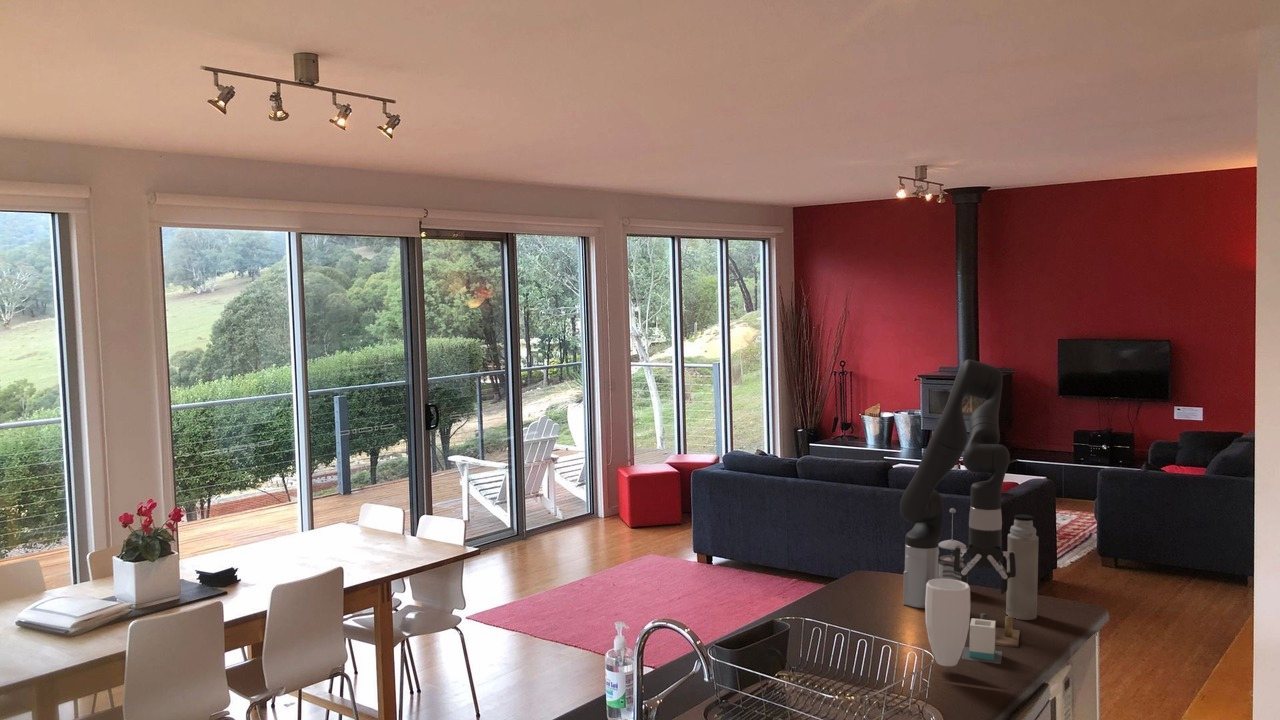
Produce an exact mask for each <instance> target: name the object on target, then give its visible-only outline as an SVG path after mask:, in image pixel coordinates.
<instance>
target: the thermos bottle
mask: <svg viewBox="0 0 1280 720" xmlns="http://www.w3.org/2000/svg"><path fill="white" fill-rule="evenodd" d="M1013 519H1014V520H1013V525H1011V526H1010V529H1009V532H1010V533H1008V534H1007V552H1010V551H1012V550H1013V551H1014V552H1015V563H1016V576H1015V577H1011V578H1008V588H1007V592H1005V594H1006V596H1005V600H1006V601H1005V603H1006V605H1005V614H1007V615H1008V616H1011V617H1013V619H1015V618H1016V620H1022V621H1023V620H1025V621H1029V620H1030V621H1031V620H1035V619H1037V617H1038V585H1039V584H1038V580H1039V579H1038V577H1039V543H1040V542H1039V535H1037V533H1038V532H1037V529H1036V527H1035V526H1034V522H1033V520H1034V516H1033V515H1029V514H1015V515H1014V517H1013ZM1008 571H1010V561H1008V560H1007V559H1006V572H1008ZM1007 615H1006V616H1007Z"/></svg>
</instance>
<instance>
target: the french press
mask: <svg viewBox="0 0 1280 720" xmlns="http://www.w3.org/2000/svg"><path fill="white" fill-rule="evenodd" d="M949 513H950V514H951V517H952V518H951V539H946V540H943V541H942V540H941V541H939V548H940V549H943V550H944V549H945V550H950V551H955V549H956V546H960V547H961V548H967V545H966V544H964V543H963V542H961V541H958V540H955V539H953V535H954V534H953V529H954V527H953V526H954V525H953V524H954V523H953V521H954V514H955V513H957V510H956V509H955V508H953V507H951V508H950V509H949ZM940 549H938V555H940ZM954 557H955V555H953V554H950V555H948V554H947V555H941V556H940V557H938V579H953V580H958V581H961V574H960V573H959V572H955V571H954ZM939 560H940V561H939ZM964 562H965V558H963V557H960V567H964V566H965V565H966V564H965V563H964ZM946 564H948V565H946Z"/></svg>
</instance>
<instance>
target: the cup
mask: <svg viewBox="0 0 1280 720" xmlns="http://www.w3.org/2000/svg"><path fill="white" fill-rule="evenodd" d="M924 609H925V610H924V614H925V615H924V616H925V627H926V631H927V637H928V642H929V646H930V648H931V651H932V655H933V657H934V659H935V662H936V664H937V665H940V666H943V667H954V666H957V664H958V663H959V660H960V658H962V654H963V650H964V647H966V646H965V645H966V642H967V639H968V633H969V630H970V622H971V618H970V617H971V587H970V585H969V583H968V584H967V583H965V582H962V581H958V580H953V579H933V580H930V581H928V582H927V584H926V597H925V608H924Z"/></svg>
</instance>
